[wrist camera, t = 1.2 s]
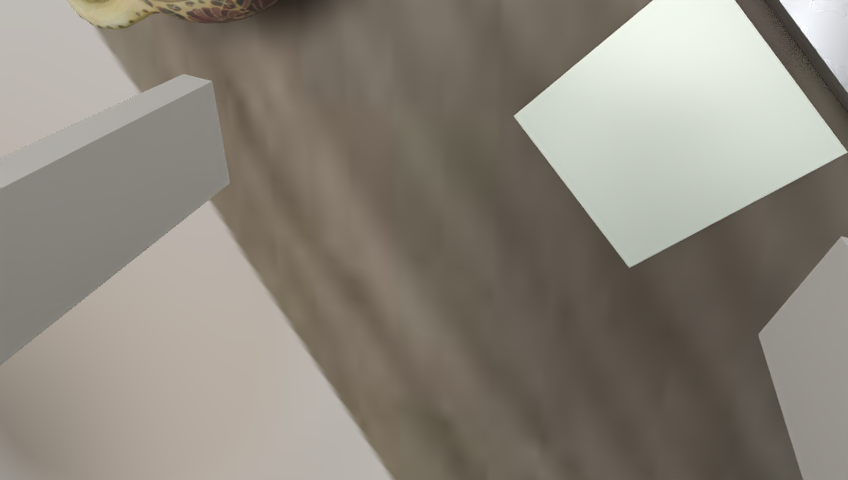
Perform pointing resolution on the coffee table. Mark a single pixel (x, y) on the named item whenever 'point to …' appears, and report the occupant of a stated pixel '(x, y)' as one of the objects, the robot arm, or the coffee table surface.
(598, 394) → the coffee table surface
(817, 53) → the dark grey rectangular frame
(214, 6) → the ceramic bowl
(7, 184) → the robot arm
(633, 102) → the pale green flat panel
